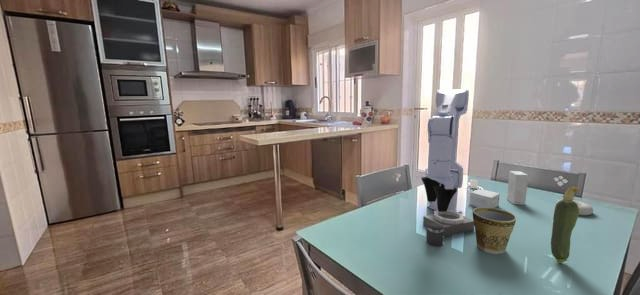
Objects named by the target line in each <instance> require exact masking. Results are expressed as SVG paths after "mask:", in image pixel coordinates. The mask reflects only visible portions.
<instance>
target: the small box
mask: <svg viewBox="0 0 640 295" xmlns="http://www.w3.org/2000/svg"><path fill="white" fill-rule="evenodd" d="M474 190H475V191H473V190H472V191H471V192H469V202H468V204H469V205H470V206H473V207H476V208H477V207H491V208H497V207H498V206H499V204H500V195H501V194H500V192H495V191H491V190H486V189H484V188H483V189H480V188H478V189H474Z"/></svg>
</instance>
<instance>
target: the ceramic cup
mask: <svg viewBox="0 0 640 295" xmlns="http://www.w3.org/2000/svg"><path fill="white" fill-rule="evenodd" d="M472 220H473V221H474V232H475V238H476V239H475V240H476V241H475V242H476V247H477V248H478V249H480V250H481V251H483V252H484V253H488V254H492V255H500V254H505V252H506V249H507V246H508V244H509V242H510V241H509V240H510V237H511V235H512V232H513V231H514V228H515V225H516V221H517V217H516V215H514V214H513V213H512V212H509V211H507V210H505V209H504V210H503V209H501V208H497V207H495V208H491V207H477V206H476V207H475V208H473V209H472Z"/></svg>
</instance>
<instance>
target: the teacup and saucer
mask: <svg viewBox="0 0 640 295" xmlns="http://www.w3.org/2000/svg"><path fill="white" fill-rule="evenodd" d="M478 184H479V180H477V179H470V182H469V181H468V182H467V185H464V186H463V188H464V189H466V190H468V191H471V190H470V189H472V188H473V189H472V190H474V191H475V190H477V188H478V187H479V188H478V189H480V188H481V189H483V190H484V188H483V187H481V186H478ZM466 186H467V187H470V188H468V189H467V187H466Z"/></svg>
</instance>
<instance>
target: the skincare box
mask: <svg viewBox="0 0 640 295" xmlns="http://www.w3.org/2000/svg"><path fill="white" fill-rule="evenodd" d="M528 181H529V174H528V173H524V172H523V171H520V170H519V171H517V170H509V174H508V183H507V184H508V185H507V194H506V200H507V201H509V202H510V203H511V204H513V205H520V206H521V205H526V200H527V192H528Z"/></svg>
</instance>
